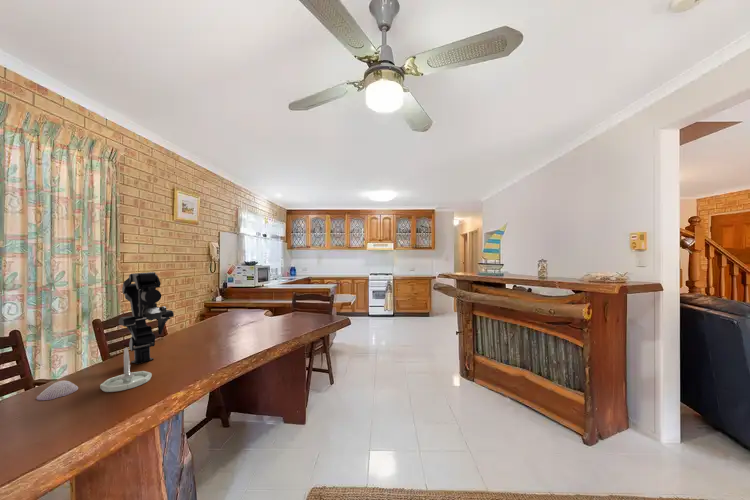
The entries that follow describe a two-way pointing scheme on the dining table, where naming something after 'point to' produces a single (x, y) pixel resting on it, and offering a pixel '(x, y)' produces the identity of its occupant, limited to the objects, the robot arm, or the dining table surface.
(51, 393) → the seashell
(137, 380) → the dish
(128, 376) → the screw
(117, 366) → the dining table surface
